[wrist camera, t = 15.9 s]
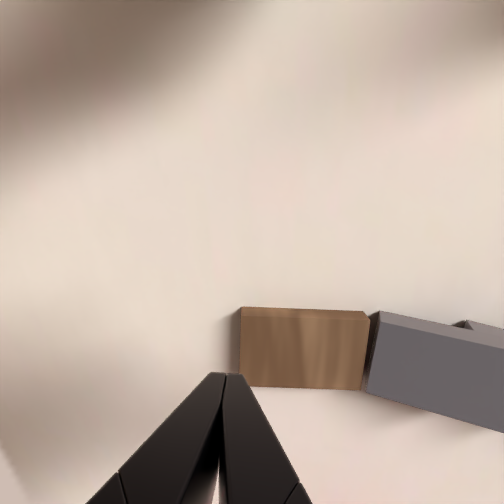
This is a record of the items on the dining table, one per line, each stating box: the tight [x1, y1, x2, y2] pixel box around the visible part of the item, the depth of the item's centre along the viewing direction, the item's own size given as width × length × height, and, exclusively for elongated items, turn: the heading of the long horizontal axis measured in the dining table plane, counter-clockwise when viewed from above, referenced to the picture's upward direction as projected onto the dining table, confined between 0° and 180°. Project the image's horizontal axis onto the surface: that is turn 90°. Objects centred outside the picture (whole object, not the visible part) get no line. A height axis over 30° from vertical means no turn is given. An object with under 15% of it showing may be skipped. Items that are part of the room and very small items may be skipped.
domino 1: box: [239, 307, 370, 390], centre depth 21 cm, size 2×5×8 cm
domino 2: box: [366, 311, 504, 433], centre depth 19 cm, size 2×5×8 cm
